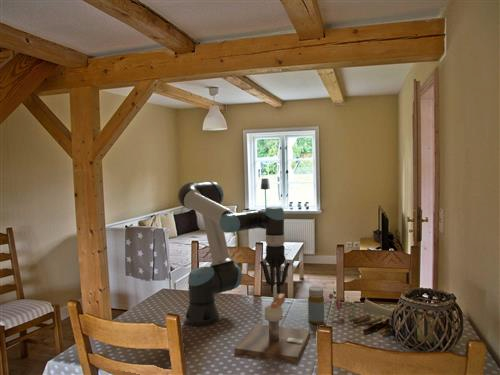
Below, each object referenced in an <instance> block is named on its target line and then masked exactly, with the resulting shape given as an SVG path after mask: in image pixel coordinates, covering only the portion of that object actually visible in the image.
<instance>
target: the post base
mask: <svg viewBox="0 0 500 375" xmlns="http://www.w3.org/2000/svg"><path fill="white" fill-rule="evenodd" d="M310 336H311V330H308V329H302V328H293V327H283V326H280V321H277V322H270V321H268V325H267V324H259V323H254V324H253V326H252V327H251V328H250V329H248V331H247V332H246V334H245V335H244V336H243V337H242V339H241V340H240V341H239V342H238V343H237V344H236V345H235V347H234V354H237V355H242V356H243V355H244V356H250V357H258V358H265V359H269V360H271V359H272V360H276V361H277V360H278V361H284V362H292V363H298V362H299V360H300V358H301V356H302V354H303V351H304V349H305V347H306V344H307V343H308V341H309V338H310ZM307 340H308V341H307ZM301 353H302V354H301Z"/></svg>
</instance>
